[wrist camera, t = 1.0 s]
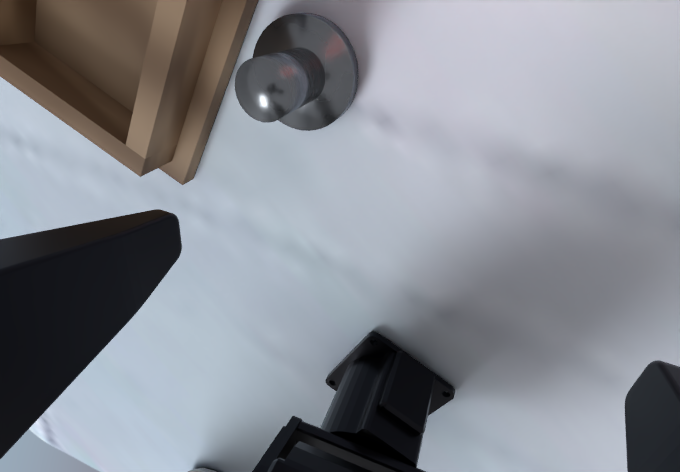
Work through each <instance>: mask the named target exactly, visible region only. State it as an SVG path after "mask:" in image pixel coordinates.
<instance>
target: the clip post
mask: <svg viewBox="0 0 680 472" xmlns="http://www.w3.org/2000/svg"><path fill="white" fill-rule="evenodd" d="M357 85H358V65H357V60H356V56H355V53H354V50H353V48H352V46H351V44H350V42H349V40H348V38H347V37H346V36H345V34H344V33H343V32H342V31H341V30H340V29H339V28H338V27H337V26H336V25H335V24H334V23H332V22H331V21H329V20H328V19H326V18H324V17H321V16H319V15H315V14H309V13H300V14H291V15H286V16H283V17H281V18H278V19H277V20H275V21H273V22H272V23H271V24H270V25H268V26H267V27H266V29H265V30H264V31H263V32H262V34H261V35H260V37H259V39H258V41H257V43H256V46H255V49H254V54H253V58H252V59H249V60H247V61H245V62H244V63H243V64H242V65H241V66H240V68H239V69H238V72H237V74H236V78H235V91H236V96H237V99H238V101H239V103H240V105H241V106H242V108H243V109H244V111H245V112H246V113H247V114H248V115H249V116H251V117H252V118H254V119H256V120H258V121H261V122H274V121H276V120H279V121H280V122H282V123H283V124H285V125H287V126H289V127H292V128H295V129H299V130H308V131H309V130H317V129H321V128H323V127H326V126H328V125H329V124H331V123H332V122H334V121H335V120H337V119H338V118H339V117H340V116H342V115H343V114H344V113H345V111H346V110H347V109H348V108H349V106H350V105H351V103H352V101H353V99H354V96H355V93H356V90H357Z"/></svg>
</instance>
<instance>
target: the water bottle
mask: <svg viewBox="0 0 680 472" xmlns="http://www.w3.org/2000/svg"><path fill="white" fill-rule="evenodd" d="M188 472H217V471H213V470H210V469H207V468H198V469H193V470H191V471H188Z"/></svg>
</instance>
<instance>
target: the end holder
mask: <svg viewBox="0 0 680 472" xmlns="http://www.w3.org/2000/svg"><path fill="white" fill-rule="evenodd" d="M257 2H258V0H0V77H2V78H3V79H5V80H6V81H7V82H9V83H10V84H12V85H13V86H14V87H16V88H17V89H19V90H20V91H21V92H23V93H24V94H26V95H27V96H28V97H30V98H31V99H33V100H34V101H35V102H37V103H38V104H40V105H41V106H42V107H44V108H45V109H47V110H48V111H49V112H51V113H52V114H54V115H55V116H56V117H58V118H59V119H61V120H62V121H63V122H65V123H66V124H67V125H69V126H70V127H72V128H73V129H74V130H76V131H77V132H79V133H80V134H81V135H83V136H84V137H86V138H87V139H88V140H90V141H91V142H93V143H94V144H95V145H97V146H98V147H100V148H101V149H102V150H104V151H105V152H107V153H108V154H109V155H111V156H112V157H114V158H115V159H116V160H118V161H119V162H121V163H122V164H123V165H125V166H126V167H128V168H129V169H130V170H132V171H133V172H135V173H136V174H137V175H139V176H140V177H141V176H143V175H145V174H147V173H149V172H151V171H153V170H155V169H157V168H159V169H161V170H162V171H164V172H165V173H166V174H168V175H169V176H171V177H172V178H173V179H175V180H176V181H178V182H179V183H180V184H182V185H184V184H185V183H187V182H189V181H190V180H192V179H193V178H194V175H195V173H196V170H197V167H198V164H199V162H200V159H201V156H202V153H203V151H204V148H205V145H206V142H207V140H208V137H209V134H210V131H211V129H212V126H213V123H214V120H215V118H216V115H217V112H218V109H219V107H220V104H221V101H222V98H223V96H224V93H225V90H226V87H227V85H228V82H229V79H230V76H231V74H232V71H233V68H234V65H235V63H236V60H237V57H238V54H239V52H240V49H241V46H242V43H243V41H244V38H245V35H246V32H247V30H248V27H249V24H250V21H251V19H252V16H253V13H254V10H255V8H256V5H257Z"/></svg>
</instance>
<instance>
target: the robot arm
mask: <svg viewBox="0 0 680 472" xmlns="http://www.w3.org/2000/svg"><path fill="white" fill-rule="evenodd" d="M181 249H182V244H181V236H180V227H179V220H178V218H177V216H176V215H175V214H173V213H169V212H166V211H163V210H151V211H146V212H141V213H135V214H130V215H125V216H120V217H114V218H109V219H104V220H99V221H94V222H88V223H83V224H78V225H73V226H68V227H62V228H57V229H52V230H47V231H42V232H36V233H31V234H26V235H21V236H16V237H10V238H5V239H0V459H1V458H2V457H3V456H4V455H5V454H6V453H7V451H8V450H9V449H10V448H11V447H12V446H13V445H14V444H15V443H16V442H17V441H18V440H19V438H21V437H22V435H23V434H24V433H25V432H26V431H27V430H28V429H29V428H30V427H31V426H32V425H33V424H34V423H35V421H36V420H37V419H38V418H39V417H40V416H41V415H42V414H43V413H44V412H45V411H46V410H47V409H48V408H49V406H50V405H51V404H52V403H53V402H54V401H55V400H56V399H57V398H58V397H59V396H60V395H61V394H62V392H63V391H64V390H65V389H66V388H67V387H68V386H69V385H70V384H71V383H72V382H73V381H74V380H75V379H76V377H77V376H78V375H79V374H80V373H81V372H82V371H83V370H84V369H85V368H86V367H87V366H88V365H89V363H90V362H91V361H92V360H93V359H94V358H95V357H96V356H97V355H98V354H99V353H100V352H101V351H102V349H103V348H104V347H105V346H106V345H107V344H108V343H109V342H110V341H111V340H112V339H113V338H114V337H115V336H116V334H117V333H118V332H119V331H120V330H121V329H122V328H123V327H124V326H125V325H126V324H127V323H128V322H129V320H130V319H131V318H132V317H133V316H134V315H135V314H136V313H137V311H138V310H139V309H140V308H141V306H142V305H143V304H144V303H145V301H146V300H147V299H148V297H149V296H150V295H151V293H152V292H153V291H154V290H155V288H156V287H157V286H158V284H159V283H160V282H161V280H162V279H163V278H164V276H165V275H166V274H167V272H168V271H169V270H170V268H171V267H172V266H173V265H174V263H175V262H176V261H177V259H178V258H179V256H180V253H181ZM373 339H374V340H376V341H374V340H373ZM326 383H327V385H328V386H330V387H331V388H332V389H334V390H335V391H337V392H336V394H335V396H334V399H333V401H332V403H331V405H330V408H329V410H328V412H327V414H326V417H325V419H324V421H323V423H322V426H321V428H318V427H315V426H313V425H310V424H308V423H305V422H303V421H302V419H300V418H298V417H295V416H292V418H291V419H290V421H289V422H288V424H287V425H286V427H285V426H283V428H282V429H281V431H280V432H279V434H278V435H277V436H276V438H275V439H274V441H273V442H272V444H271V445H270V447H269V448H268V450H267V451H266V452H265V454H264V455H263V457H262V458H261V460H260V461H259V463H258V464H257V465H256V467H255V468H254V470H253V471H252V472H426V471H423V470H421V469H418V468H416V467H417V463H418V458H419V453H420V448H421V443H422V438H423V433H424V431H425V427H426V422H427V417H428V415H430V414H431V413H433V412H434V411H436V410H437V409H439V408H440V407H442V406H443V405H444V404H446V403H447V402H449V401H450V400H452V399H453V398H454V394H455V389H454V387H453V386H452V385H450V384H449V383H448V382H446V381H445V380H443V379H442V378H441V377H439V376H438V375H436V374H435V373H434V372H432V371H431V370H429V369H428V368H427V367H425V366H424V365H422V364H421V363H420V362H418V361H417V360H415V359H414V358H413V357H411V356H410V355H408V354H407V353H406V352H404V351H403V350H401V349H400V348H399V347H397V346H396V345H394V344H393V343H392V342H390V341H389V340H387V339H386V338H385V337H383V336H382V335H381V334H379V333H377V332H371V333H369V334H368V335H367V336H366V337H365V338H364V339H363V340H362V341H361V342H360V343H359V344H358V345H357V346H356V347H355V348H354V349H353V350H352V351H351V352H350V353H349V354H348V355H347V356H346V357H345V358H344V359H343V360H342V361H341V362H340V363H339V364H338V365H337V366H336V367H335V368H334V370H333V371H332V372H331V373H330V374H329V375H328V377H327V379H326ZM445 391H447V392H445ZM625 424H626V446H627V468H628V472H680V367H679V366H675V365H672V364H669V363H665V362H662V361H653V362H651V363H650V364H649V365H648V366H647V367H646V368H645V370H644V371H643V373H642V374H641V375H640V377H639V378H638V379H637V381H636V382H635V383H634V385H633V386H632V387H631V389H630V390H629V392H628V394H627V396H626V399H625Z"/></svg>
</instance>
